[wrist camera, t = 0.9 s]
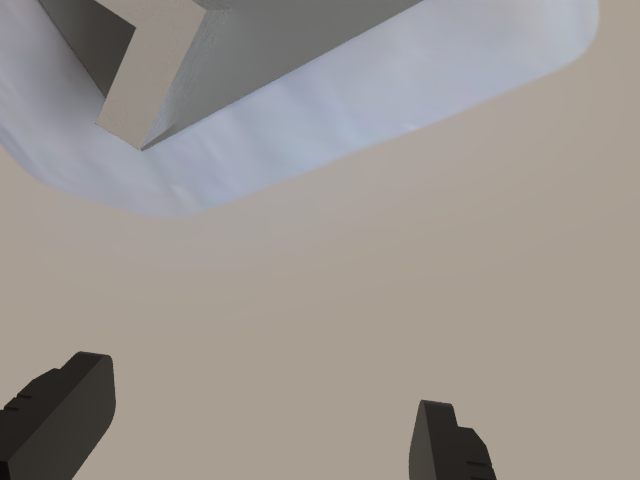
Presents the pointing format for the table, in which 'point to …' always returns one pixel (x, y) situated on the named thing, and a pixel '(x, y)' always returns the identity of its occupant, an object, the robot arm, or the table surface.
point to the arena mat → (226, 44)
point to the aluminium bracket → (159, 64)
